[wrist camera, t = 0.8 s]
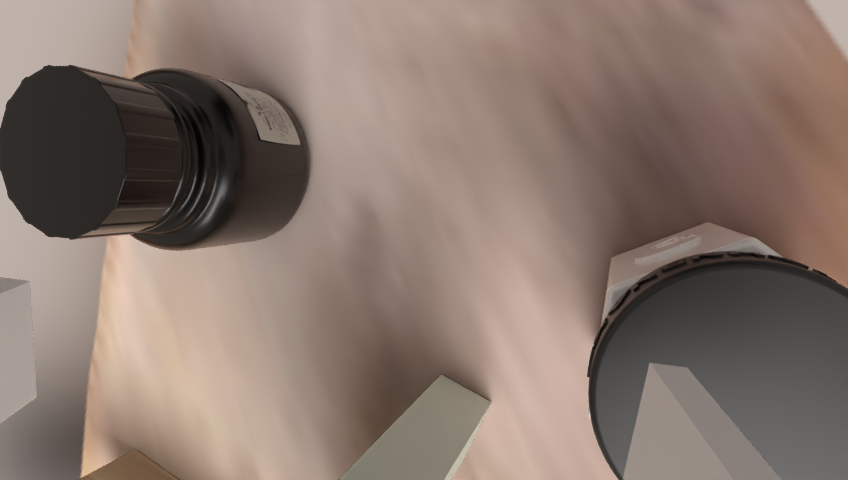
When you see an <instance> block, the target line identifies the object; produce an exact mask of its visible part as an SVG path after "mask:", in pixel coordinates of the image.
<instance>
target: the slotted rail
mask: <svg viewBox="0 0 848 480" xmlns="http://www.w3.org/2000/svg"><path fill="white" fill-rule="evenodd" d="M79 480H178V479H177V478H175V477H174V476H172V475H171V474H170V473H168V472H167V471H165V470H164V469H163V468H161V467H160V466H158V465H157V464H155V463H154V462H153V461H151V460H150V459H148V458H147V457H145V456H144V455H143V454H141V453H140V452H138V451H137V450H136V449H135V450H133V451H131V452H129V453H127V454H126V455H124V456H122V457H120V458H118V459H116V460H114V461H112V462H111V463H109V464H107V465H105V466H103V467H101V468H99V469H97V470H96V471H94V472H92V473H90V474H88V475H86V476H84V477H82V478H81V479H79Z"/></svg>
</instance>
